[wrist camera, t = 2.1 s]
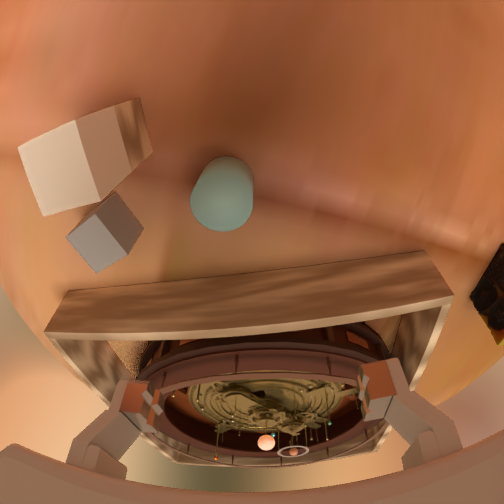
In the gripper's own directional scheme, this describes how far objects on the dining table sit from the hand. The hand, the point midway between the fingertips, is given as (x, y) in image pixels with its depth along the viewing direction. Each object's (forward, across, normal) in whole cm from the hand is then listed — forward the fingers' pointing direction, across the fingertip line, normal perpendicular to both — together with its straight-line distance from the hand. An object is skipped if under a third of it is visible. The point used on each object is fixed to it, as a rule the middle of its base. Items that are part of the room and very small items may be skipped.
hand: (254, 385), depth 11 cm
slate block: (+21, +16, +1) cm, 26 cm away
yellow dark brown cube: (+21, -35, +17) cm, 45 cm away
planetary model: (+22, +4, +34) cm, 41 cm away
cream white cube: (+15, +12, -8) cm, 21 cm away
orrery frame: (+22, +5, +34) cm, 40 cm away
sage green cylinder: (+21, +3, -1) cm, 21 cm away
